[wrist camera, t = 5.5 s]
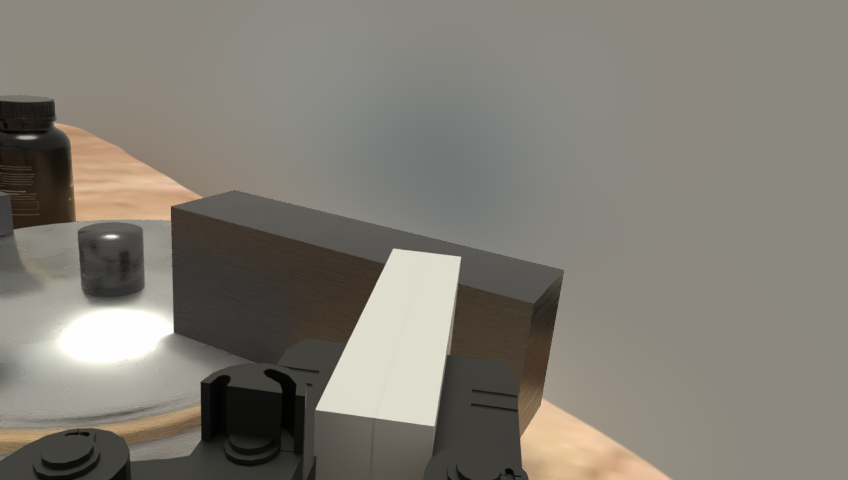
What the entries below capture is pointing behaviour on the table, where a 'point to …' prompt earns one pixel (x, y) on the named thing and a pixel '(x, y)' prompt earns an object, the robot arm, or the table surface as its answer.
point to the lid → (220, 309)
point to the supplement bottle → (35, 162)
